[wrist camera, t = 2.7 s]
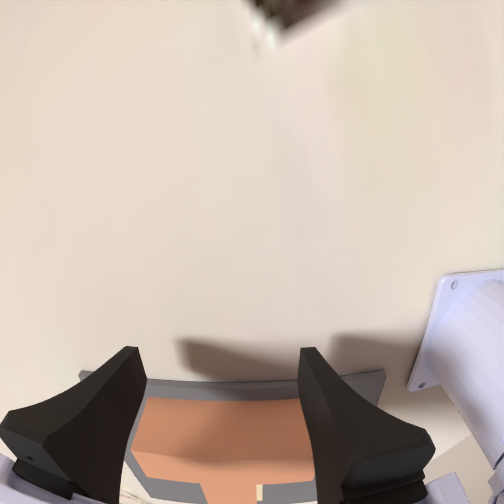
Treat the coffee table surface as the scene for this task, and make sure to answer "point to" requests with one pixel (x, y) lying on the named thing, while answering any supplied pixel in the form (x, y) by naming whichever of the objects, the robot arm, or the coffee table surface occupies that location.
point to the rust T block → (224, 445)
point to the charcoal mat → (269, 495)
